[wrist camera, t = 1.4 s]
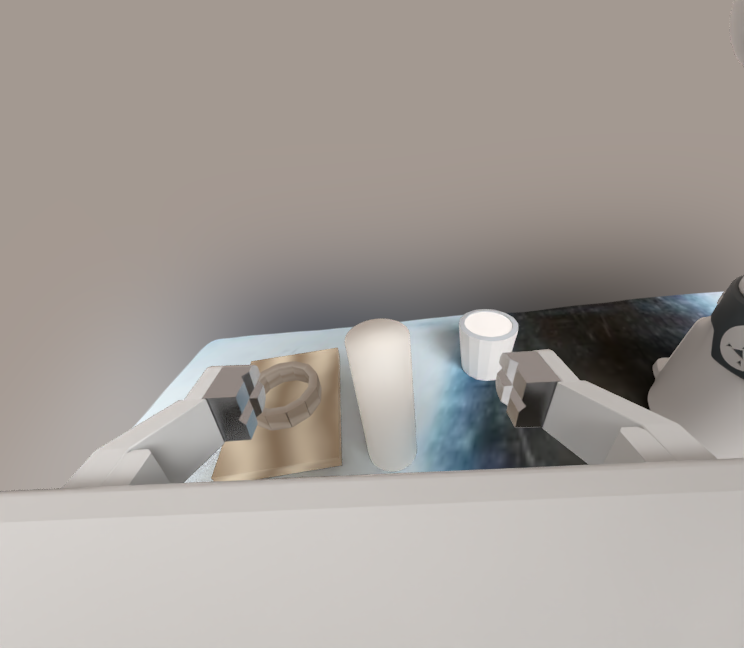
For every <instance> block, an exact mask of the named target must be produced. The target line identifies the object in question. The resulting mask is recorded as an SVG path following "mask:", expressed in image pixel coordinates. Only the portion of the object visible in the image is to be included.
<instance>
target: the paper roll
mask: <svg viewBox="0 0 744 648" xmlns="http://www.w3.org/2000/svg"><path fill="white" fill-rule="evenodd" d="M345 346H346V351H347V356H348V360H349V365H350V370H351V374H352V379H353V383H354V388H355V393H356V397H357V402H358V407H359V411H360V416H361V421H362V425H363V430H364V434H365V439H366V444H367V448H368V453H369V457H370V459H371V461H372V462H373V464H374V465H375V466H377V467H378V468H380V469H382V470H384V471H389V472H396V471H400V470H403V469H405V468H407V467H408V466H409V465H410V464H411V463H412V462H413V461H414V459H415V457H416V453H417V441H416V425H415V409H414V393H413V378H412V362H411V346H410V333H409V330H408V329H407V327H406V326H405V325H403V324H402V323H400V322H398V321H395V320H391V319H372V320H368V321H364V322H362V323H360V324H358V325H356V326H354V327H353V328H352V329H351V330H350V331H349V332H348V333H347V335H346V337H345Z"/></svg>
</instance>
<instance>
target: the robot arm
mask: <svg viewBox="0 0 744 648" xmlns="http://www.w3.org/2000/svg"><path fill="white" fill-rule="evenodd" d="M729 32H730V40H731V45H732V48H733V51H734V54H735V56H736V57H737V59H738V61H739V62H740V63H741V65H742V66H743V67H744V0H734V1H733V5H732V9H731V15H730V29H729ZM717 304H718V305H717V306H716V308H715V310H714V311H713V313H712V315H711V316H709V317H703V318H700V319H699V320H698V321H696V322H695V324H694V325H693V326H692V328H691V329H690V330H689V332H688V333H687V334H686V336H685V337H684V338H683V340H682V341H681V342H680V344H679V345H678V346H677V348H676V349H675V351H674V352H673V353H672V355H671V356H670V357H669V358H660V359H658V360H657V361H656V362H655V363H654V365H653V373H654V376H655V382H654V384H653V385H652V387H651V388H650V390H649V393H648V404H649V408H650V410H651V411H650V410H648V409H645V408H643V407H641V406H639V405H637V404H635V403H632V402H630V401H628V400H626V399H624V398H622V397H620V396H617V395H615V394H613V393H611V392H609V391H607V390H604V389H602V388H600V387H598V386H596V385H594V384H591V383H589V382H587V381H580V380H579V379H578V378H577V377H576V376H575V375H574V373H573V372H572V371H571V370H570V369H569V368H568V367H567V366H566V365H565V364H564V363H563V361H562V360H561V359H560V358H559V357H558V356H557V355H556V354H555V353H554V352H553V351H552V350H549V349H546V350H534V351H525V352H507V353H502V354H501V356H500V360H499V364H500V365H501V367H502V369H501V370H500V371H499V372H498V373H497V376H496V390H497V393H498V396H499V398H500V400H501V402H503V403H505V404H506V405H508V407H507V411H506V412H507V414H508V415H509V417H510V419H511V421H512V423H513V425H514V427H515V428H518V427H543V429H544V430H545V431H547V432H548V433H549V434H550V435H552V436H553V437H554V438H556V439H557V440H558V441H559V442H561V443H562V444H563V445H565V446H566V447H567V448H568V449H570V450H571V451H572V452H574V453H575V454H576V455H577V456H579V457H580V458H581V459H582V460H584V461H585V462H586V463H588V464H589V465H574V466H552V467H530V468H507V469H484V470H461V471H438V472H415V473H393V474H371V475H349V476H326V477H304V478H282V479H259V480H237V481H214V482H192V483H184V482H185V481H186V480H187V479H188V478H189V477H190V476H191V475H192V474H193V473H194V472H195V471H196V470H197V469H198V468H199V467H200V466H202V465H203V464H204V463H205V462H206V461H207V460H208V459H209V458H210V457H211V456H212V455H213V454H214V453H215V452H216V451H217V450H218V449H219V448H220V447H221V446H222V445H223V444H224V443H225V442H228V441H241V440H251V439H252V437H253V434H254V432H255V429H256V427H257V424H258V422H257V419H256V417H257V416H259V415H260V414H261V413H262V412H263V409H264V406H265V399H266V395H265V389H264V385H263V384H262V383H260V382H259V381H258V379H259V376H260V372H259V369H258V367H257V366H256V365H230V366H211V367H208V368H207V369H206V370H205V372H204V373H203V374H202V376H201V377H200V378H199V380H198V381H197V383H196V384H195V385H194V387H193V388H192V389H191V391H190V392H189V393H188V395H187V396H186V398H185V399H184V400H179V401H177V402H175V403H174V404H172V405H170V406H169V407H167V408H165V409H164V410H162V411H160V412H158V413H157V414H155V415H153V416H152V417H150V418H148V419H147V420H145V421H143V422H142V423H140V424H138V425H137V426H135V427H133V428H132V429H130V430H128V431H127V432H125V433H124V434H122V435H120V436H119V437H117V438H115V439H113V440H112V441H110V442H108V443H107V444H105V445H103V446H102V447H100V448H98V449H97V450H95V451H94V453H93V454H92V455H91V456H90V457H89V458H88V459H87V460H86V462H84V464H83V465H82V466H81V467H80V468H79V469H78V470H77V471H76V472H75V474H74V475H73V476H72V477H71V478H70V479H69V480H68V482H66V484H65V485H64V486H63V487H62V488H60V489H59V488H57V489H34V490H11V491H0V648H744V275H743V276H741V277H738V278H737V279H735V280H734V281H733V282H732V283H731V285H730V286H729V288H728V289H727V290H726V291H724V292H723V294H722V295H721V297H720V298H719V300H718V302H717Z"/></svg>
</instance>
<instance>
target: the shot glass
mask: <svg viewBox="0 0 744 648" xmlns="http://www.w3.org/2000/svg"><path fill="white" fill-rule="evenodd" d="M517 333H518V323H517V322H516V320H515V319H514V318H513V317H511V316H510V315H508V314H506V313H504V312H500V311H497V310H490V309H480V310H473V311H471V312H468V313H466V314H464V315H463V316H462V317H461V318H460V321H459V334H460V349H461V364H462V368H463V370H464V371H465V372H466V373H467V374H468V375H469V376H471V377H473V378H475V379H478V380H484V381H489V380H496V376H497V373H498V372H499V371H500V370H501V369H502V367H501V365H500V364H499V360H500V356H501V354H502V353H507V352H512V349H513V345H514V342H515V339H516V336H517Z"/></svg>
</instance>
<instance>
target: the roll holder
mask: <svg viewBox="0 0 744 648" xmlns="http://www.w3.org/2000/svg"><path fill="white" fill-rule="evenodd" d="M250 365H256V366H257V367H258V369H259V372H260V376H259V379H258V381H259V382H260V383H262V384H263V385H264V389H265V395H266V399H265V406H264V409H263V412H262V413H261V414H260V415H259V416H257V417H256V419H257V422H258V424H257V427H256V429H255V432H254V434H253V437H252V439H251V440H241V441H228V442H225V443H224V444H223V446H222V448H221V451H220V454H219V457H218V460H217V463H216V466H215V469H214V472H213V475H212V478H211V479H212V480H213V481H237V480H257V479H263V478H269V477H275V476H281V475H287V474H293V473H299V472H305V471H311V470H317V469H323V468H329V467H335V466H341V465H342V452H341V405H340V358H339V351H338V348H333V349H326V350H320V351H314V352H308V353H301V354H295V355H289V356H282V357H276V358H270V359H264V360H257V361H251V364H250Z"/></svg>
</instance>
